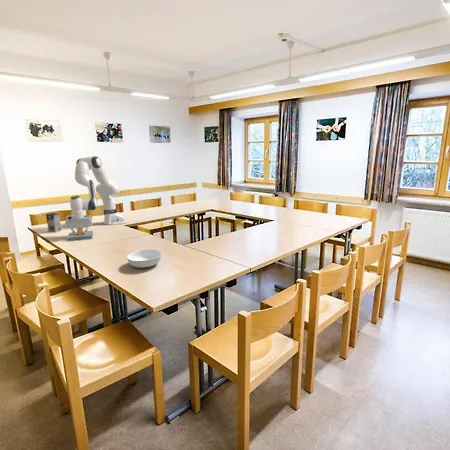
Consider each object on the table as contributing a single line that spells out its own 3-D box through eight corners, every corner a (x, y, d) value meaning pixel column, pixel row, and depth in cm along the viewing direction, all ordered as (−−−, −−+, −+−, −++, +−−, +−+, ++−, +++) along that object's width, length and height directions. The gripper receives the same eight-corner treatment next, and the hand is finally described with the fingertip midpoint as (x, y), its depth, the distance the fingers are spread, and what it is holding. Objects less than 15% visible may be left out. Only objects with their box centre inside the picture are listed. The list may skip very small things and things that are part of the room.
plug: (83, 236, 252) (82, 227, 250) (83, 238, 248) (82, 228, 246) (78, 237, 251) (77, 227, 249) (78, 238, 246) (76, 229, 244)
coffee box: (48, 231, 269) (45, 214, 265) (54, 229, 275) (51, 212, 271) (55, 232, 266) (53, 214, 262) (61, 230, 272) (59, 213, 268)
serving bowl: (135, 258, 199) (134, 249, 198) (166, 259, 197) (165, 249, 196) (122, 271, 179) (121, 260, 178) (156, 271, 177) (155, 261, 176)
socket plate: (93, 233, 259) (92, 230, 259) (92, 238, 245) (91, 235, 244) (70, 236, 253) (69, 232, 253) (67, 241, 239) (67, 237, 238)
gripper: (91, 214, 251) (93, 229, 254) (64, 216, 244) (67, 232, 248) (91, 215, 245) (93, 231, 249) (63, 217, 238) (66, 234, 242)
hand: (80, 232), depth 248 cm, fingers open, 8 cm apart
